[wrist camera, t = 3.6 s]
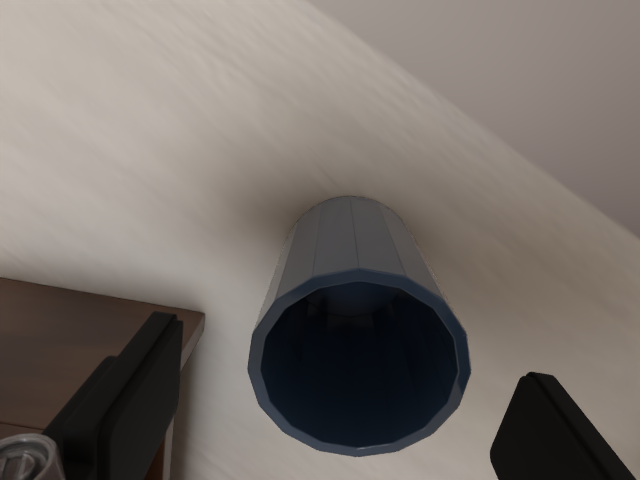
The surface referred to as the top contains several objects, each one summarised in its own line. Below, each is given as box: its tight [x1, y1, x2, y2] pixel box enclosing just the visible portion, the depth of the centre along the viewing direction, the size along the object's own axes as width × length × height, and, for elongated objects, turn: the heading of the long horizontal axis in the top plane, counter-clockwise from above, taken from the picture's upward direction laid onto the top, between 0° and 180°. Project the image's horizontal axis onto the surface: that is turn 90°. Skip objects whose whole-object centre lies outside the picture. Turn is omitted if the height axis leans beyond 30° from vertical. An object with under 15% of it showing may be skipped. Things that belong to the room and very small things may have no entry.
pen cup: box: [247, 196, 471, 457], centre depth 17 cm, size 7×7×9 cm
